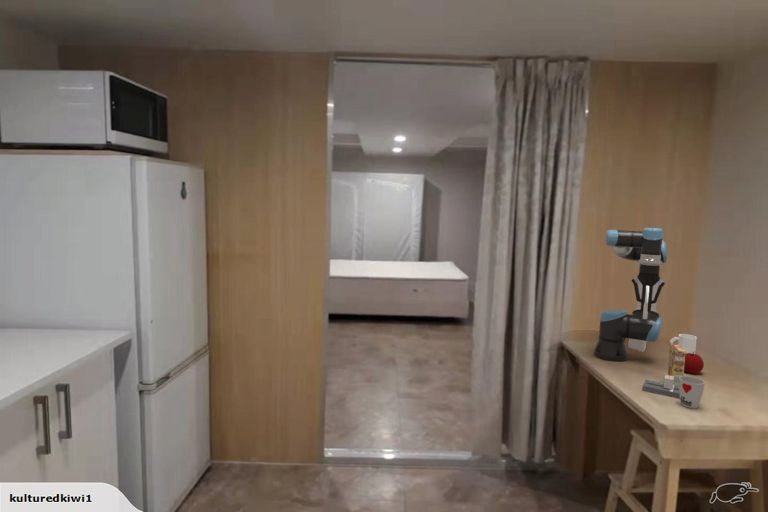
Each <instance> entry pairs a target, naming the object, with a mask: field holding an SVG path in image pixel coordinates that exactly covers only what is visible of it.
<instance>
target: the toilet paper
mask: <svg viewBox="0 0 768 512" xmlns="http://www.w3.org/2000/svg"><path fill="white" fill-rule="evenodd" d="M647 342H648V341H643V340H636V339H629V338H628V344H627V346H628V347H629V348H630V349H633V350H635V351H639V352H642V353H644V352H645V350H646V347H647Z"/></svg>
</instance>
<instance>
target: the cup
mask: <svg viewBox="0 0 768 512" xmlns="http://www.w3.org/2000/svg"><path fill="white" fill-rule="evenodd" d="M705 382H706V381H704V380H703V379H700V378H698V377H694V376H689V375H687V376H686V375H684V376H681V377H679V395H680V399H679V400H680V403H681V405H682V406H683V407H686V408H688V407H689V409H697V408H698V406H699V405H700V403H701V400H702V396H703V393H704V389H705V388H704V387H705Z"/></svg>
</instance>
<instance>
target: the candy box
mask: <svg viewBox="0 0 768 512" xmlns="http://www.w3.org/2000/svg"><path fill="white" fill-rule="evenodd" d="M685 353H686V351H685V350H684V349H683V348H682V347H681V346H679V345H678V344H673V345H670V344H669V356H668V364H667V365H668V366H667V375H670V376H674V383H673V385H675V386H679V377H681V376H685V373H684V372H685V371H684V364H685Z"/></svg>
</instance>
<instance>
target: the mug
mask: <svg viewBox="0 0 768 512" xmlns="http://www.w3.org/2000/svg"><path fill="white" fill-rule="evenodd" d="M697 338H698V336H696V335H693V334H688V333H679V334H678V336H674V337H672V338H671V339H670V340H669V346H670V345H674V342H675V341H676V340H677V345H679V346H681V347H682V348H683V349H684V350H685V351H686V353H692V354H696V350H697V349H696V348H697V340H698V339H697ZM693 352H694V353H693ZM686 353H685V354H686Z"/></svg>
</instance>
